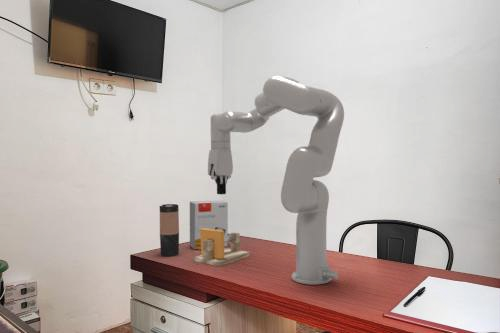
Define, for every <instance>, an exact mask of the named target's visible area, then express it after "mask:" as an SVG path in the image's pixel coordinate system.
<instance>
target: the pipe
mask: <svg viewBox="0 0 500 333" xmlns="http://www.w3.org/2000/svg"><path fill="white" fill-rule="evenodd" d="M235 239H236V236H235V235H234V234H232V235H231V234H229V235H228V236H225V237H224V243H226V242H228V243H231V241H233V240H235ZM213 246H214V240H213Z"/></svg>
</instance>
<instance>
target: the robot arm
mask: <svg viewBox="0 0 500 333" xmlns="http://www.w3.org/2000/svg"><path fill="white" fill-rule="evenodd" d="M254 106H255V108H254V109H252V110H250V111H248V112H242V111H233V110H231V111H230V110H229V111H225V112H223V113H213V114H212V115H211V116H210V150H209V152H208V160H207V175H208V176H209V177H210V179H211V180H214V182H215V184H216V194H217V195H226V194H227V183H228V180H229V179H231V178H232V175H233V171H234V169H233V168H234V166H233V164H234V163H233V155H232V149H231V133H243V134H245V133H251V132H253V131H255V130H257V129H260V128H261V127H263V126H264V125H265V124H266V123H267V122H268V121H269V120H270V117H272V116H274V115H276V114H278V113H280V112H281V111H283V110H285V109H286V110H288V111H290V112H293V113H295V114H298V115H300V116H301V115H302V116H309V117H316V118H317V121H316V122H315V124H314V126H313V127H312V130H311V134H310V137H309V142H308V146H307V145H306V146H300V147H298V148H295V149H294V150H293V152H292V153H290V156H289V157H288V160H287V163H286V167H285V172H284V175H283V176H284V177H283V181H282V186H281V189H280V190H281V192H280V202H281V204H282V206H283V208H284V209H285V210H286V211H287V212H290V213H293V214H297V216H296V222H295V240H296V241H295V244H296V246H295V250H296V252H295V253H296V257H295V258H296V268H295V269H296V271H293V272H292V274H291V280H293V281H294V282H296V283H299V284H304V285H311V286H312V285H314V286H315V285H318V286H319V285H323V284H327V283H330V282H331V281H332V279H335V280H338V278H339V272H338V271H337V270H332V269H331V268H330V266H331V265H330V264H328V263H327V220H328V219H327V215H328V208H329V201H330V194H329V190H328V187H327V186H326V185H325V184H324V183H323V182H322V181H320V180H317V179H315V178H320V177H325V176H328V174H329V173H330V172H331V171H332V168H333V165H334V161H335V156H336V151H337V148H338V143H339V138H340V136H341V135H340V134H341V131H342V127H343V124H344V118H345V109H344V106H343V104H342V102H341V100H340V98H338V97H337V95H335V94H334V93H332V92H330V91H328V90H325V89H322V88H321V89H320V88H317V87H312V86H307V85H304V84H301V83H300V82H299V81H298V80H296V79H294V78H291V77H287V76H283V75H278V74H277V75H272V76H271V77H269V78H267V80H266V81H265V82H264V85H263V87H262V92H261V93H259V94H258V95H257V96H255V98H254Z"/></svg>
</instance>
